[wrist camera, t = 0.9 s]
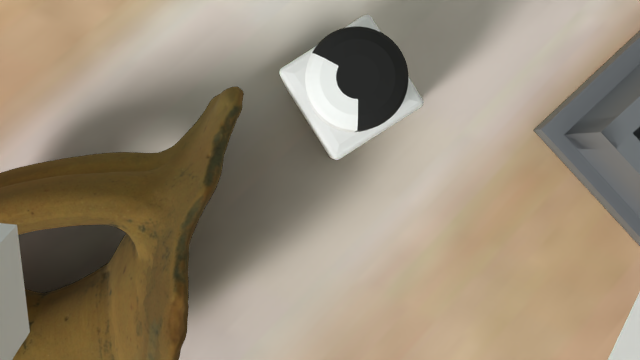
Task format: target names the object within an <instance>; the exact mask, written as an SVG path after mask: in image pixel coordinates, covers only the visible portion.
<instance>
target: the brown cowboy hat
mask: <svg viewBox="0 0 640 360" xmlns="http://www.w3.org/2000/svg"><path fill="white" fill-rule="evenodd" d="M243 95H244V93H243V91H242V90H241V89H240V88H239V87H231V88H228V89H226V90H224V91H223V92H222V93H221V94H219V95H217V96H215V97H214V98H213V99H212V100H211V101H210V103H209V104H208V106H207V108H206V110H205V111H204V112H203V114H202V115H201V117H200V118H199V119H198V121H197V122H196V123H195V124H194V125H193V127H192V128H191V129H190V130H189V131H188V132H187V133H186V134H185V135H184V136H183V137H182V138H181V139H180V140H179V141H178V142H177V143H176V144H175V145H174V146H172V147H171V148H169V149H167V150H165V151H162V152H159V153H131V152H117V153H102V154H93V155H85V156H78V157H71V158H65V159H59V160H54V161H48V162H43V163H38V164H33V165H28V166H24V167H19V168H16V169H12V170H9V171H5V172H2V173H0V223H3V224H14V225H17V229H18V235H20V234H24V233H28V232H32V231H38V230H44V229H51V228H59V227H67V226H78V225H109V226H114V227H117V228H119V229H121V230H123V231H124V232H126V234H125V236H124V238H123V239H122V241H121V242H120V244H119V246H118V248H117V250H116V251H115V253H114V255H113V257H112V258H111V260H110V261H109V263H108V264H106V265H104V266H103V267H101V268H100V269H98V270H97V271H95V272H93V273H92V274H90V275H88V276H86V277H84V278H83V279H81V280H79V281H77V282H75V283H72V284H70V285H67V286H65V287H63V288H60V289H57V290H54V291H50V292H46V293H39V292H34V291H31V290H27V289H25V296H26V304H27V312H28V321H29V329H30V333H29V334H28V336H27V337H26V339H25V340H24V342H23V344H22V345H21V347H20V348H19V350H18V351H17V353H16V354H15V356H14V357H13V359H12V360H179V356H180V350H181V347H182V344H183V342H184V340H185V338H186V333H187V317H188V298H189V297H188V261H189V244H190V240H191V238H192V235H193V232H194V230H195V227H196V225H197V223H198V220H199V218H200V216H201V214H202V212H203V210H204V208H205V206H206V205H207V203H208V201H209V200H210V198H211V196H212V194H213V193H214V191H215V189H216V187H217V184H218V181H219V178H220V175H221V172H222V166H223V158H224V154H225V150H226V148H227V145H228V142H229V139H230V136H231V133H232V131H233V128H234V126H235V123H236V121H237V119H238V117H239V115H240V113H241V110H242V101H243Z"/></svg>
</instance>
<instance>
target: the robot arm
mask: <svg viewBox="0 0 640 360" xmlns="http://www.w3.org/2000/svg"><path fill="white" fill-rule="evenodd" d="M29 333H30V329H29V321H28V312H27V304H26V296H25V287H24V279H23V271H22V263H21V254H20V246H19V238H18V229H17V225H14V224H3V223H0V360H12V359H13V357H14V356H15V354H16V353H17V351H18V350H19V348H20V347H21V345H22V344H23V342H24V340H25V339H26V337H27V336H28V334H29ZM608 360H640V292H639V294H638V297H637V299H636V301H635V303H634V305H633V307H632V309H631V312H630V314H629V316H628V318H627V320H626V322H625V324H624V326H623V329H622V331H621V333H620V335H619V337H618V339H617V341H616V343H615V346H614V348H613V350H612V352H611V354H610V356H609V358H608Z"/></svg>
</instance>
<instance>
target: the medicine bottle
mask: <svg viewBox="0 0 640 360" xmlns="http://www.w3.org/2000/svg"><path fill="white" fill-rule="evenodd" d="M279 73H280V76H281V79H282V81H283V83H284V86H285V88H286V89H287V91H288V92H289V94H290V95H291V97H292V99H293V100H294V102H295V103H296V105H297V106H298V108H299V110H300V111H301V113H302V114H303V116H304V117H305V119H306V121H307V122H308V124H309V125H310V127H311V128H312V130H313V132H314V133H315V135H316V136H317V138H318V139H319V141H320V143H321V144H322V146H323V147H324V149H325V150H326V152H327V154H328V155H329V157H330V158H332V159H335V160H338V159H341V158H342V157H344V156H345V155H347V154H348V153H350V152H352V151H353V150H355V149H356V148H358V147H359V146H361V145H363V144H364V143H366V142H367V141H369V140H370V139H372V138H374V137H375V136H377V135H378V134H380V133H381V132H383V131H385V130H386V129H388V128H389V127H391V126H392V125H394V124H395V123H397V122H399V121H400V120H402V119H403V118H405V117H406V116H408V115H410V114H411V113H413V112H414V111H416V110H417V109H419V108H421V107H422V106H423V103H424V102H423V99H422V97H421V96H420V94H419V93H418V91H417V89H416V88H415V86H414V85H413V83H412V81H411V80H410V78H409V77H408V69H407V64H406V61H405V58H404V56H403V54H402V52H401V51H400V49H399V48H398V46H397V45H396V44H395V43H394V42H393V41H392V40H391V39H390V38H389V37H387V36H386V35H384V34H383V33H381V32H380V30H379V28H378V27H377V25H376V24H375V22H374V20H373V19H372V17H371V16H370V15H367V14H366V15H363V16H362V17H360V18H359V19H357V20H356V21H354V22H352V23H351V24H349V25H348V26H346V27H345V28H343V29H339V30H337V31H335V32H333V33H331V34H329V35H328V36H326V37H325V38H324V39H323V40H322V41H320V43H319V44H318V45H317V46H315V47H314V48H312V49H310V50H309V51H307V52H306V53H304V54H303V55H301V56H300V57H298V58H296V59H295V60H293V61H292V62H290V63H289V64H287V65H286V66H284V67H282V68H281V69H280V72H279Z"/></svg>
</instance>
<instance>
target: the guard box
mask: <svg viewBox="0 0 640 360" xmlns="http://www.w3.org/2000/svg"><path fill="white" fill-rule="evenodd" d="M534 131H535V132H536V134H537V135H538V136H539V137H540V138H541V139H542V140H543V141H544V142H545V143H546V144H547V146H548V147H549V148H550V149H551V150H552V151H553V152H554V153H555V154H556V155H557V156H558V158H559V159H560V160H561V161H562V162H563V163H564V164H565V165H566V166H567V167H568V168H569V169H570V171H571V172H572V173H573V174H574V175H575V176H576V177H577V178H578V179H579V180H580V181H581V183H582V184H583V185H584V186H585V187H586V188H587V189H588V190H589V191H590V192H591V193H592V195H593V196H594V197H595V198H596V199H597V200H598V201H599V202H600V203H601V204H602V205H603V207H604V208H605V209H606V210H607V211H608V212H609V213H610V214H611V215H612V216H613V217H614V218H615V220H616V221H617V222H618V223H619V224H620V225H621V226H622V227H623V228H624V229H625V230H626V232H627V233H628V234H629V235H630V236H631V237H632V238H633V239H634V240H635V241H636V242H637V244H638V245H639V246H640V31H639V32H638V33H637V34H636V35H635V36H634V37H632V38H631V39H630V40H629V41H628V42H627V43H626V44H625V45H624V46H623V47H622V48H621V49H620V50H619V51H617V52H616V53H615V54H614V55H613V56H612V57H611V58H610V59H609V60H608V61H607V62H606V63H605V64H604V65H603V66H601V67H600V68H599V69H598V70H597V71H596V72H595V73H594V74H593V75H592V76H591V77H590V78H589V79H588V80H586V81H585V82H584V83H583V84H582V85H581V86H580V87H579V88H578V89H577V90H576V91H575V92H574V93H573V94H571V95H570V96H569V97H568V98H567V99H566V100H565V101H564V102H563V103H562V104H561V105H560V106H559V107H558V108H557V109H555V110H554V111H553V112H552V113H551V114H550V115H549V116H548V117H547V118H546V119H545V120H544V121H543V122H542V123H540V124H539V125H538V126H537V127H536V128H535V129H534Z"/></svg>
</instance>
